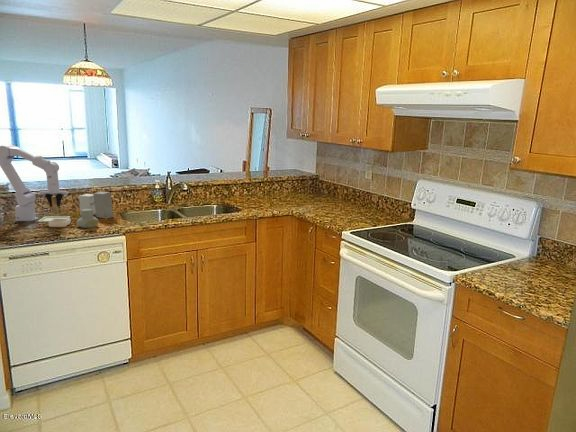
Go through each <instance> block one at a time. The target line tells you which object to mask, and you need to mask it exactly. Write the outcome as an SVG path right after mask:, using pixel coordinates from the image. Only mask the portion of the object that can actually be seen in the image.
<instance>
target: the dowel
mask: <svg viewBox="0 0 576 432" xmlns="http://www.w3.org/2000/svg"><path fill="white" fill-rule="evenodd" d="M51 201H52V207H51V209H52V213H59V212H60V210H59V207H57V199H56V195H54V196H52V197H51Z"/></svg>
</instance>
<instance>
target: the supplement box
mask: <svg viewBox="0 0 576 432" xmlns="http://www.w3.org/2000/svg"><path fill="white" fill-rule="evenodd" d="M78 201H79V202H78V203H79V213H80V214H79V216H81V210H82V209H92V210H93V216H95V215H96V210H95V203H94V196H93V194H92V193H85V194H80V195H78Z"/></svg>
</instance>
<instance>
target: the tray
mask: <svg viewBox="0 0 576 432" xmlns="http://www.w3.org/2000/svg"><path fill="white" fill-rule="evenodd" d="M53 219H71V215H48V216H47V215H45V216H44V217H42V218H40V219H39V220H37V221H36V222H37V223H48V222H50V221H51V220H53Z"/></svg>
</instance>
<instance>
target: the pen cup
mask: <svg viewBox="0 0 576 432" xmlns="http://www.w3.org/2000/svg"><path fill="white" fill-rule="evenodd" d="M71 221H72V220H71V218H69V219H53V220H51V221H50V222H47V224H48V227H51V228H53V227H55V228H57V227H58V228H59V227H60V228H62V227H65V228H66V227H67V226H68V225H70V224H71V223H72V222H71Z"/></svg>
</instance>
